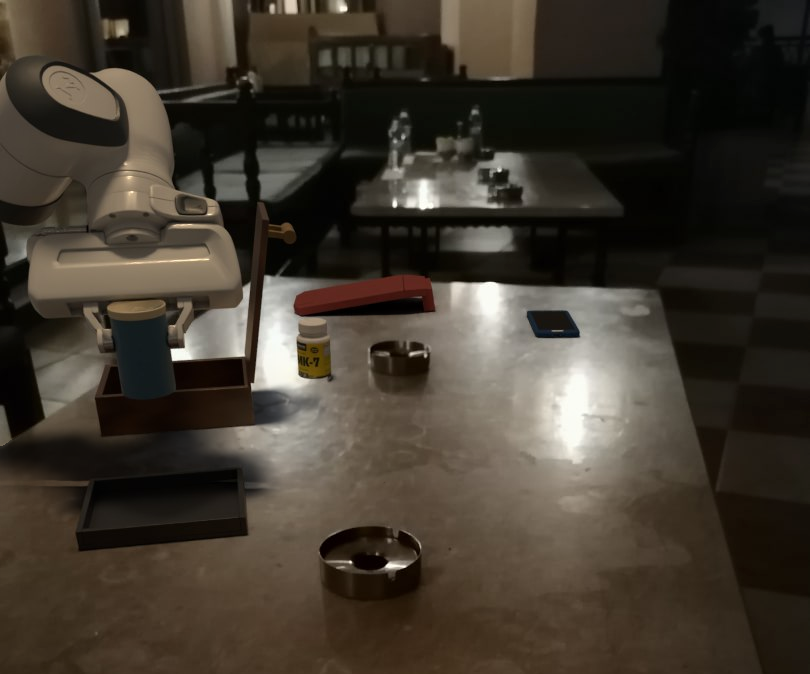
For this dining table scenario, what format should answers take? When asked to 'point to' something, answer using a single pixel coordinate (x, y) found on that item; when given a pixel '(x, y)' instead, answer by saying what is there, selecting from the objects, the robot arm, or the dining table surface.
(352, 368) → the dining table surface
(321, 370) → the supplement bottle
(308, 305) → the red ramp
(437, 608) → the dining table surface
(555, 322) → the cell phone
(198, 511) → the tray
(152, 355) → the canister
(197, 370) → the chest
